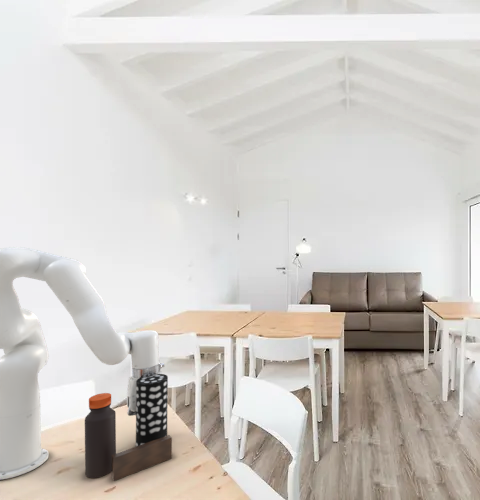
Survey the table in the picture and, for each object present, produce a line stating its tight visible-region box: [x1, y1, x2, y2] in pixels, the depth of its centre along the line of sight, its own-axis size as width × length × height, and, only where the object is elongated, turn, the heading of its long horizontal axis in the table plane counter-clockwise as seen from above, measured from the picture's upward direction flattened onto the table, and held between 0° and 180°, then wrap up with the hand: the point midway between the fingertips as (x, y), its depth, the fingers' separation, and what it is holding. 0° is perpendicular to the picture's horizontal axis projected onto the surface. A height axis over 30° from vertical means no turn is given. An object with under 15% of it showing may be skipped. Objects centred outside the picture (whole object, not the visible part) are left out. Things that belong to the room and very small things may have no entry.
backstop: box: [111, 434, 173, 482], centre depth 96 cm, size 14×2×6 cm, turn 134°
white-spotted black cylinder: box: [135, 373, 169, 447], centre depth 107 cm, size 8×8×20 cm
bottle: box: [84, 392, 117, 479], centre depth 95 cm, size 7×7×20 cm
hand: (147, 428), depth 112 cm, fingers closed
